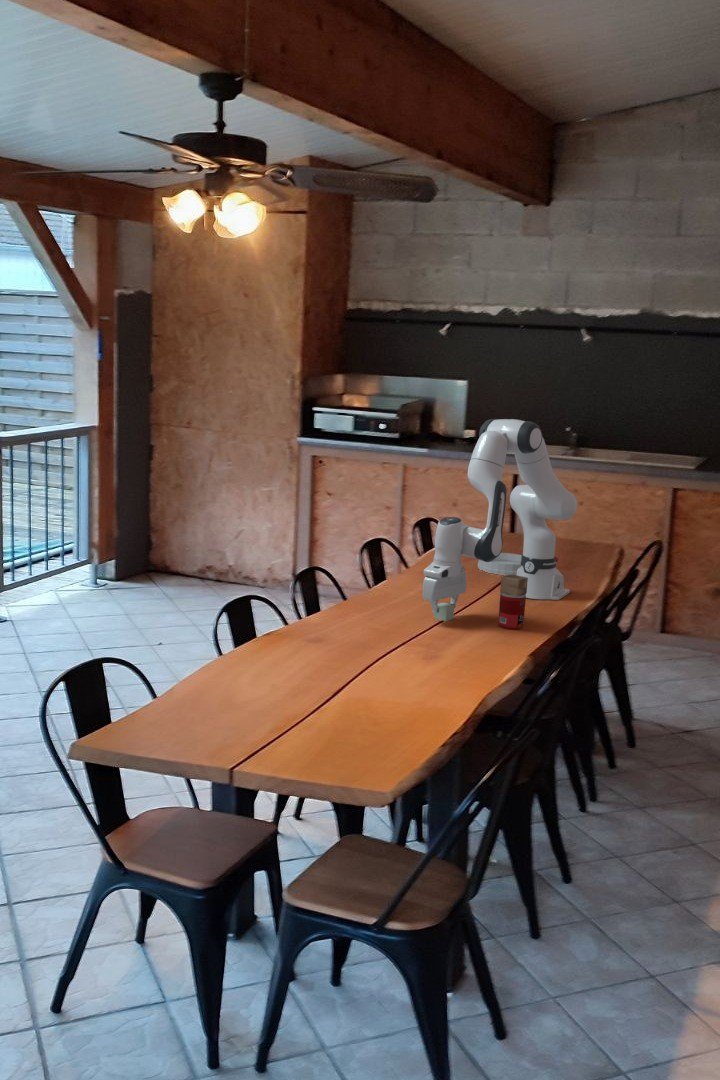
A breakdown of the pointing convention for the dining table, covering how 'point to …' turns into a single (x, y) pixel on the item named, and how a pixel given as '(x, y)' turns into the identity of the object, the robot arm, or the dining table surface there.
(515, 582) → the walnut block
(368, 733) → the dining table surface
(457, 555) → the robot arm
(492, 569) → the dish
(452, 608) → the sage cube
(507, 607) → the canned food
